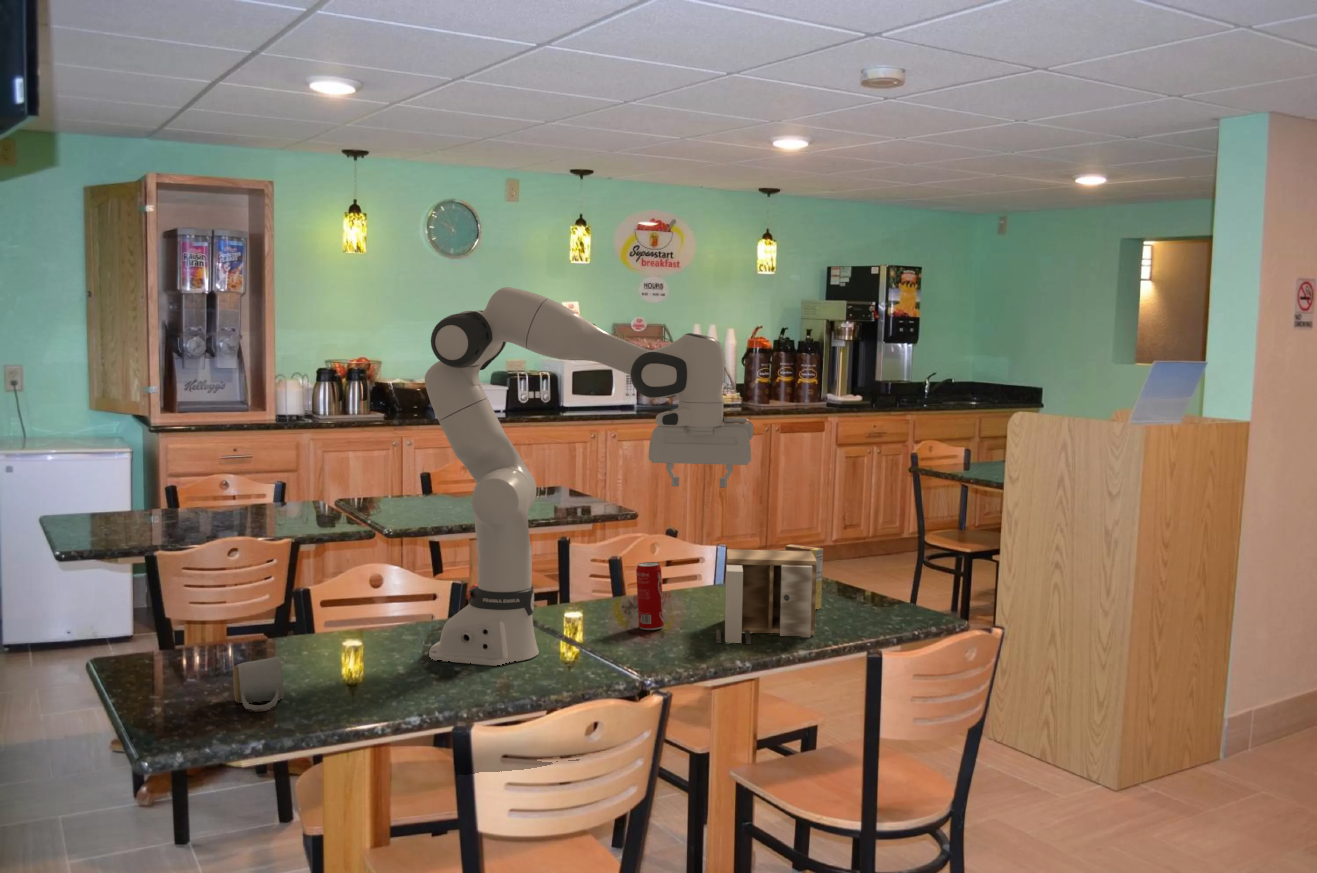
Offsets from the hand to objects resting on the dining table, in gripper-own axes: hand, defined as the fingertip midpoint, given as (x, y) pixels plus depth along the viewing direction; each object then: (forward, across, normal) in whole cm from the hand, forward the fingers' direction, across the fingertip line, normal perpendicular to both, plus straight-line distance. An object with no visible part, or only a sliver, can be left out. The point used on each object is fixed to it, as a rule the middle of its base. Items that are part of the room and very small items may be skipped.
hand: (699, 486), depth 221 cm
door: (+37, -8, -25) cm, 45 cm away
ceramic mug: (+38, +77, +28) cm, 90 cm away
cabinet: (+37, -15, -32) cm, 51 cm away
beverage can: (+37, +11, -33) cm, 51 cm away
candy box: (+37, -26, -58) cm, 74 cm away
